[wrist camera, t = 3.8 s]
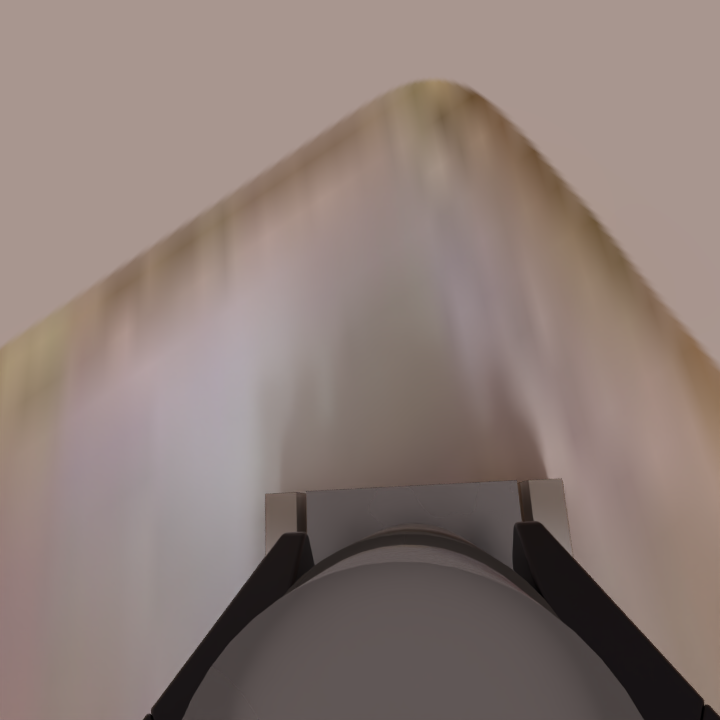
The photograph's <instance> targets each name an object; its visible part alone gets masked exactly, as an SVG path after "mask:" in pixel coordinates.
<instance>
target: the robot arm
mask: <svg viewBox="0 0 720 720" xmlns="http://www.w3.org/2000/svg"><path fill="white" fill-rule="evenodd" d="M512 562H513V570H514V571H515V572H516V573H517V574H518V575H520V576H521V577H522V578H523V579H525V580H526V581H527V582H528V583H529V584H530V585H531V586H532V587H533V588H534V589H535V590H536V591H537V592H538V593H539V594H540V595H541V596H542V597H543V598H544V599H545V600H546V602H547V603H548V604H549V606H550V607H551V608H552V609H553V611H554V612H555V613H556V615H557V616H558V617H559V618H560V620H561V621H562V622H563V623H564V624H565V625H567V626H568V627H569V628H570V629H572V630H573V631H574V632H575V633H576V634H577V635H578V636H579V637H580V638H581V639H582V640H583V641H584V642H585V643H586V644H587V645H588V646H589V647H590V648H591V649H592V650H593V651H594V652H595V653H596V654H597V655H598V656H599V657H600V658H601V659H602V660H603V662H604V663H605V664H606V666H607V667H608V668H609V669H610V671H611V672H612V673H613V674H614V676H615V677H616V678H617V680H618V681H619V682H620V683H621V685H622V686H623V687H624V689H625V690H626V692H627V693H628V695H629V696H630V698H631V700H632V701H633V703H634V705H635V706H636V708H637V709H638V711H639V713H640V714H641V716H642V718H643V719H644V720H720V716H719V715H718V714H717V713H716V712H715V711H714V710H713V709H712V708H711V706H709V705H704V700H703V698H702V697H701V696H700V695H699V694H698V693H697V692H696V691H695V689H694V688H693V687H692V686H691V685H690V684H689V683H688V682H687V681H686V680H685V679H684V677H683V676H682V675H681V674H680V673H679V672H678V671H677V670H676V669H675V668H674V667H673V666H672V664H671V663H670V662H669V661H668V660H667V659H666V658H665V657H664V656H663V655H662V654H661V652H660V651H659V650H658V649H657V648H656V647H655V646H654V645H653V644H652V643H651V642H650V641H649V639H648V638H647V637H646V636H645V635H644V634H643V633H642V632H641V631H640V630H639V629H638V627H637V626H636V625H635V624H634V623H633V622H632V621H631V620H630V619H629V618H628V617H627V616H626V614H625V613H624V612H623V611H622V610H621V609H620V608H619V607H618V606H617V605H616V604H615V602H614V601H613V600H612V599H611V598H610V597H609V596H608V595H607V594H606V593H605V592H604V591H603V589H602V588H601V587H600V586H599V585H598V584H597V583H596V582H595V581H594V580H593V579H592V577H591V576H590V575H589V574H588V573H587V572H586V571H585V570H584V569H583V568H582V567H581V566H580V564H579V563H578V562H577V561H576V560H575V559H574V558H573V557H572V556H571V555H570V554H569V552H568V551H567V550H566V549H565V548H564V547H563V546H562V545H561V544H560V543H559V542H558V541H557V539H556V538H555V537H554V536H553V535H552V534H551V533H550V532H549V531H548V530H547V529H546V527H545V526H544V525H543V524H542V523H540V522H538V521H526V522H517V523H515V525H514V528H513V550H512ZM314 566H315V564H314V559H313V555H312V550H311V545H310V541H309V536H308V535H307V533H306V532H286V533H284V534H282V535H281V536H280V538H279V539H278V540H277V542H276V543H275V544H274V546H273V547H272V548H271V550H270V551H269V552H268V554H267V555H266V556H265V558H264V559H263V560H262V562H261V563H260V564H259V566H258V567H257V568H256V570H255V571H254V572H253V574H252V575H251V576H250V578H249V579H248V580H247V582H246V583H245V584H244V586H243V587H242V588H241V590H240V591H239V592H238V594H237V595H236V596H235V598H234V599H233V600H232V602H231V603H230V604H229V606H228V607H227V608H226V610H225V611H224V612H223V614H222V615H221V616H220V618H219V619H218V620H217V622H216V623H215V624H214V626H213V627H212V628H211V630H210V631H209V633H208V634H207V635H206V637H205V638H204V639H203V641H202V642H201V643H200V645H199V646H198V647H197V649H196V650H195V651H194V653H193V654H192V655H191V657H190V658H189V659H188V661H187V662H186V663H185V665H184V666H183V667H182V669H181V670H180V671H179V673H178V674H177V675H176V677H175V678H174V679H173V681H172V682H171V683H170V685H169V686H168V687H167V689H166V690H165V691H164V693H163V694H162V695H161V697H160V698H159V699H158V701H157V702H156V703H155V705H154V706H153V707H152V709H151V714H152V715H151V714H147V715H146V716H145V718H144V719H143V720H182V719H183V717H184V715H185V712H186V710H187V708H188V706H189V704H190V701H191V699H192V697H193V695H194V694H195V692H196V690H197V689H198V687H199V685H200V684H201V682H202V680H203V679H204V677H205V675H206V674H207V672H208V670H209V669H210V667H211V666H212V665H213V663H214V662H215V661H216V660H217V658H218V657H219V656H220V654H221V653H222V652H223V651H224V649H225V648H226V647H227V645H228V644H229V643H230V642H231V641H232V640H233V639H234V638H235V637H236V636H237V635H238V634H239V633H240V632H241V631H242V630H243V629H244V628H245V627H246V626H247V625H248V624H249V623H250V622H251V621H252V620H253V619H254V618H255V617H256V616H258V615H259V614H260V613H261V612H263V611H264V610H265V609H267V608H268V607H269V606H271V605H272V604H273V603H274V602H276V601H277V600H278V599H280V598H282V597H283V596H284V594H285V593H286V592H287V590H288V589H289V588H290V587H291V586H292V585H293V584H294V583H295V582H296V581H297V580H298V579H299V578H300V577H301V576H302V575H303V574H305V573H306V572H307V571H308V570H310V569H311V568H312V567H314Z"/></svg>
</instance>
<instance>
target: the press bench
mask: <svg viewBox="0 0 720 720" xmlns="http://www.w3.org/2000/svg"><path fill="white" fill-rule="evenodd" d="M517 486H518V494H519V503H520V511H521V520H522V522H526V521H538V522H540V523H542V524H543V525H544V526H545V527H546V529H547V530H548V531H549V532H550V533H551V534H552V535H553V536H554V537H555V538H556V539H557V541H558V542H559V543H560V544H561V545H562V546H563V547H564V548H565V549H566V550H567V551H568V552H569V554H570V555H571V556H572V557H573V552H572V544H571V537H570V530H569V523H568V516H567V509H566V502H565V494H564V487H563V480H562V479H543V480H528V481H524V482H521V483H517ZM286 532H306V533H307V503H306V494H304V493H298V492H292V493H273V494H265V556H266V555H267V554H268V552H269V551H270V550H271V548H272V547H273V546H274V544H275V543H276V542H277V540H278V539H279V538H280V536H281V535H282V534H284V533H286Z"/></svg>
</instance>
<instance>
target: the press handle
mask: <svg viewBox="0 0 720 720" xmlns="http://www.w3.org/2000/svg"><path fill="white" fill-rule="evenodd" d="M306 503H307V535H308V536H309V541H310V545H311V550H312V555H313V559H314V564H315V566H314V567H312V568H311V569H310V570H308V571H307V572H306V573H305V574H303V575H302V576H301V577H300V578H299V579H298V580H297V581H296V582H295V583H294V584H293V585H292V586H291V587H290V588H289V589H288V590H287V592H286V593H285V594H284V596H283V597H282V598H280V599H278V600H277V601H276V602H274V603H273V604H272V605H271V606H269V607H268V608H267V609H265V610H264V611H263V612H261V613H260V614H259V615H258V616H256V617H255V618H254V619H253V620H252V621H251V622H250V623H249V624H248V625H247V626H246V627H245V628H244V629H243V630H242V631H241V632H240V633H239V634H238V635H237V636H236V637H235V638H234V639H233V640H232V641H231V642H230V643H229V644H228V645H227V647H226V648H225V649H224V651H223V652H222V653H221V654H220V656H219V657H218V658H217V660H216V661H215V662H214V663H213V665H212V666H211V667H210V669H209V670H208V672H207V674H206V675H205V677H204V679H203V680H202V682H201V684H200V685H199V687H198V689H197V690H196V692H195V694H194V695H193V697H192V699H191V701H190V704H189V706H188V708H187V710H186V712H185V715H184V717H183V719H182V720H644V719H643V718H642V716H641V714H640V713H639V711H638V709H637V708H636V706H635V705H634V703H633V701H632V700H631V698H630V696H629V695H628V693H627V692H626V690H625V689H624V687H623V686H622V685H621V683H620V682H619V681H618V680H617V678H616V677H615V676H614V674H613V673H612V672H611V671H610V669H609V668H608V667H607V666H606V664H605V663H604V662H603V660H602V659H601V658H600V657H599V656H598V655H597V654H596V653H595V652H594V651H593V650H592V649H591V648H590V647H589V646H588V645H587V644H586V643H585V642H584V641H583V640H582V639H581V638H580V637H579V636H578V635H577V634H576V633H575V632H574V631H573V630H572V629H570V628H569V627H568V626H567V625H565V624H564V623H563V622H562V621H561V620H560V618H559V617H558V616H557V615H556V613H555V612H554V611H553V609H552V608H551V607H550V606H549V604H548V603H547V602H546V600H545V599H544V598H543V597H542V596H541V595H540V594H539V593H538V592H537V591H536V590H535V589H534V588H533V587H532V586H531V585H530V584H529V583H528V582H527V581H526V580H525V579H523V578H522V577H521V576H520V575H518V574H517V573H516V572H515V571H514V570H513V562H512V550H513V528H514V525H515V523H517V522H522V520H521V511H520V503H519V494H518V486H517V480H514V481H494V482H475V483H456V484H437V485H417V486H398V487H379V488H360V489H340V490H321V491H306Z"/></svg>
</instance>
